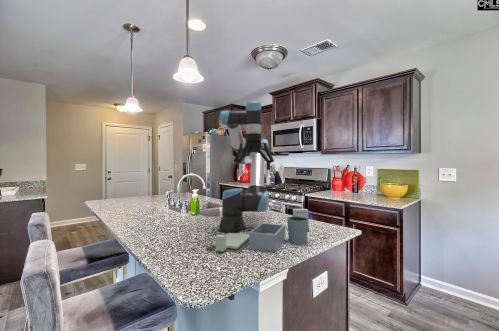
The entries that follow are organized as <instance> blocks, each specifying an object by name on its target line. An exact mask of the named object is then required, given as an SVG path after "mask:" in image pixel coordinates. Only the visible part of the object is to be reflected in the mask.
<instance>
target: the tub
mask: <svg viewBox="0 0 499 331" xmlns="http://www.w3.org/2000/svg"><path fill="white" fill-rule="evenodd" d="M267 233H273V234H267ZM248 235H249V245H248V248H249V250H255V251H256V250H257V251H264V252H271V253H277V252H278V250H279V249H280V247H281V246H282V244H284V242H285V240H286V225H284V224H275V223H264V222H261V223H260V224H259V225H257V226H256V227H255V228H252V230H251V231H249V233H248Z"/></svg>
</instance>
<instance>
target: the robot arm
mask: <svg viewBox="0 0 499 331" xmlns="http://www.w3.org/2000/svg"><path fill="white" fill-rule="evenodd" d="M245 105H246V106H245V110H222V111H220V113H219V120H220V122H219V123H220V124H221V125H223V126H226V128H227V131H228V134H229V137H230V140H231V141H230V145H231V147H232V149H233V150H234V151H235V152H236V155H235V156H234V159H233V162H235V163H236V164H237V165H236V166H237V169H236V170H238V177H243V163H242V162H243V161H244V159H245V158H246V157H249V158H250V160H251V162H250V176H249V177H250V180H249V186H247V189H246V190H243V188H239V187H238V188H232V189H226V190H224V191H223V192H222V198H221V200H222V208H221V209H222V215H221V219H220V222H219V225H218V226H219V227H218V228H219V231H220V232H223V233H226V234H228V233H236V234H237V233H240V232H242V231H245V230H246V228H247V227H246V222H245V220H244V217H243V213H244V212H250V213H253V212H255V213H256V212H257V213H261V212H263V213H264V212H266V211H267V210H268V208H269V206H268V205H269V200H270V199H269V197H270V192H269V191H268V189H267V188H266V187H265V178H268V177H269V171H270V170H271V163H274V162H275V159H274V157H273V155H272V153H271V150H270V147H269V146H270V145H269V141H268V139H266V138H262V134H261V133H262V121H263V115H262V103H261V102H260V101H256V100H255V101H254V100H252V101H248V102H246V104H245ZM243 125H244V126H245V133H246V134H245V138H244V137H243V133H242V128H241V126H243Z"/></svg>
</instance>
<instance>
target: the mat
mask: <svg viewBox="0 0 499 331" xmlns="http://www.w3.org/2000/svg"><path fill="white" fill-rule="evenodd" d="M247 247H249V240H247V241H246V242H245V243H244V244H243V245H241V246H240V247H239V248H238V249H232V248H227V249H226V250H225V251H224V252H230V253H237V254H240V253H242V252H243V251H244V250H245V249H246V248H247ZM214 250H215V251H216V246H212V244H210V245H209V246H207V247H206V251H210V252H211V251H212V252H213V251H214Z"/></svg>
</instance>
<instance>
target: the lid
mask: <svg viewBox="0 0 499 331" xmlns="http://www.w3.org/2000/svg"><path fill="white" fill-rule="evenodd" d="M247 240H249V234H245V233H237V232H236V233H226V234H218V235H216V236H215V241H214V242H212V243H211V245H212V246H216V250H215V252H226V251H225V250H226V249H227V248H232V249H238V248H239V247H240V246H241V245H243V244H244V243H245V242H246V241H247Z"/></svg>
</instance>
